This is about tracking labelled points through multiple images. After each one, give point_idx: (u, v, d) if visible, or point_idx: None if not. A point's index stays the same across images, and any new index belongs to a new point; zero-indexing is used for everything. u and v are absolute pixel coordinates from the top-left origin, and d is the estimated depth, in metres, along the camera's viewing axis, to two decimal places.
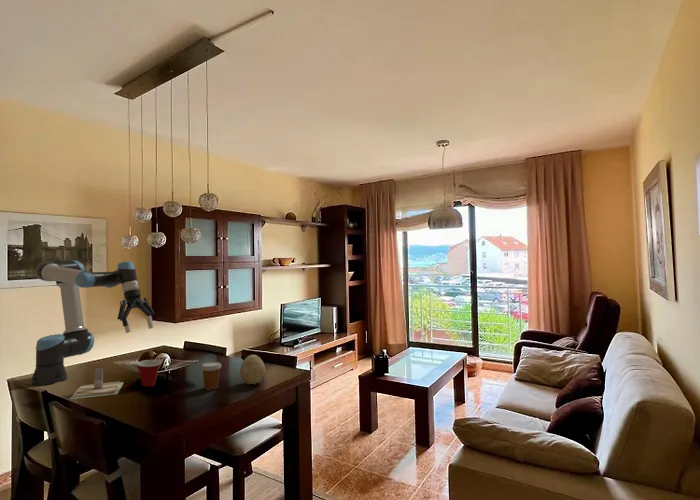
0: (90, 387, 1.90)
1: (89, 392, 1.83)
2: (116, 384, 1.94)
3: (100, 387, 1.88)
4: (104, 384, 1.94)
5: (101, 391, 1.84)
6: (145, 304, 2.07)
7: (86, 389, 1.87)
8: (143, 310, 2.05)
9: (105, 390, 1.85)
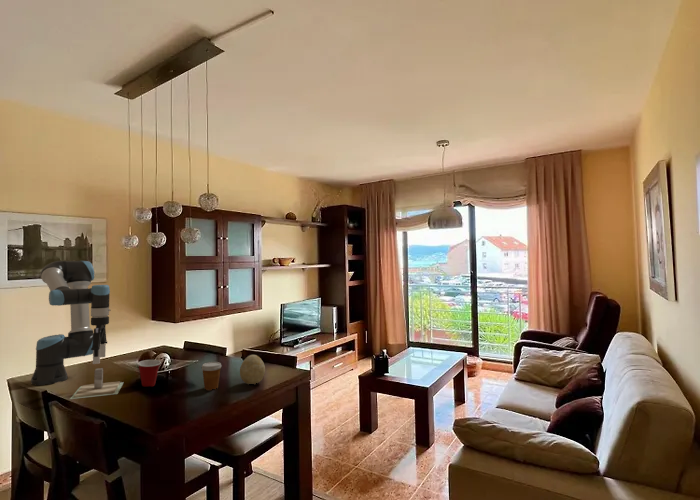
0: (90, 387, 1.90)
1: (89, 392, 1.83)
2: (116, 384, 1.94)
3: (100, 387, 1.88)
4: (104, 384, 1.94)
5: (101, 391, 1.84)
6: None
7: (86, 389, 1.87)
8: (101, 338, 1.94)
9: (105, 390, 1.85)
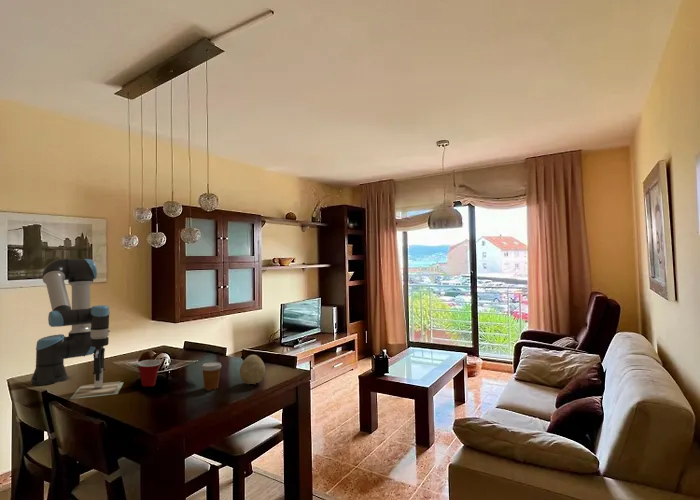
0: (90, 387, 1.90)
1: (89, 392, 1.83)
2: (116, 384, 1.94)
3: (100, 387, 1.88)
4: (104, 384, 1.94)
5: (101, 391, 1.84)
6: None
7: (86, 389, 1.87)
8: None
9: (105, 390, 1.85)
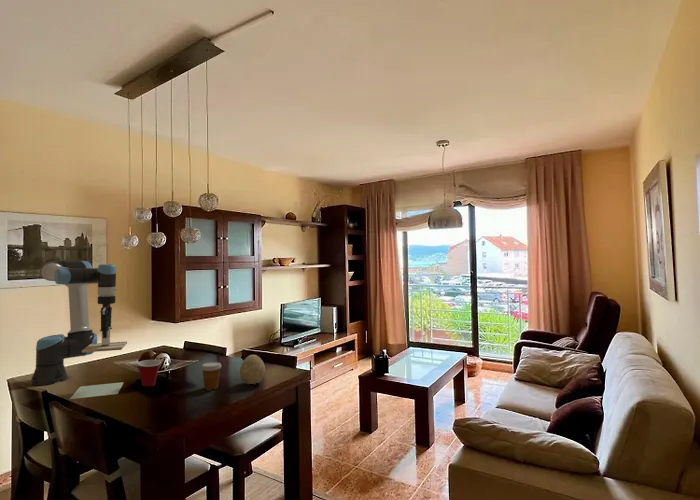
0: (97, 345, 1.92)
1: (96, 348, 1.84)
2: (123, 343, 1.96)
3: (107, 344, 1.89)
4: (111, 343, 1.96)
5: (108, 347, 1.85)
6: None
7: (93, 346, 1.89)
8: None
9: (112, 347, 1.87)
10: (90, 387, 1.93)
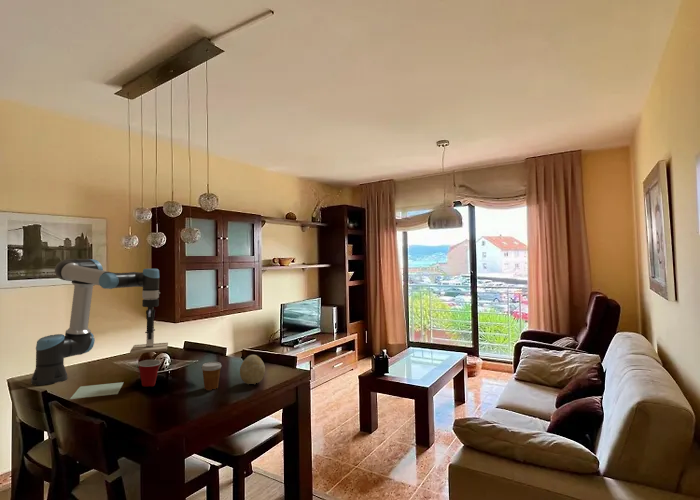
0: (141, 346, 1.99)
1: (143, 349, 1.92)
2: (165, 344, 2.03)
3: (152, 346, 1.97)
4: (154, 344, 2.03)
5: (154, 348, 1.93)
6: None
7: (138, 347, 1.96)
8: None
9: (157, 348, 1.94)
10: (90, 387, 1.93)
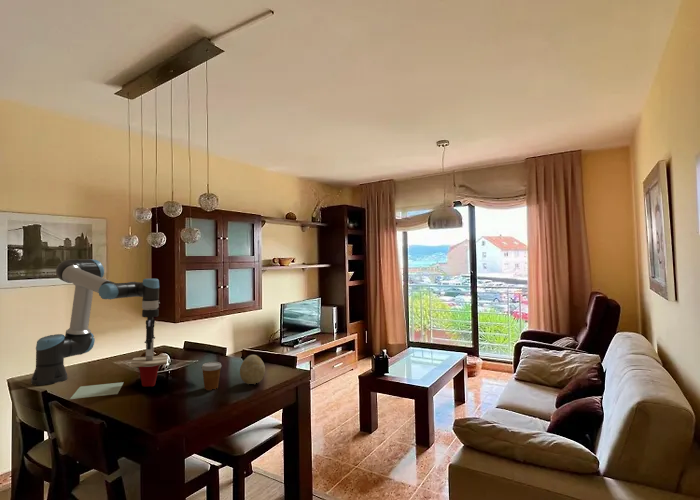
0: (141, 359, 1.99)
1: (142, 363, 1.91)
2: (165, 357, 2.03)
3: (151, 359, 1.97)
4: (154, 357, 2.03)
5: (153, 362, 1.93)
6: None
7: (138, 360, 1.96)
8: None
9: (157, 362, 1.94)
10: (90, 387, 1.93)
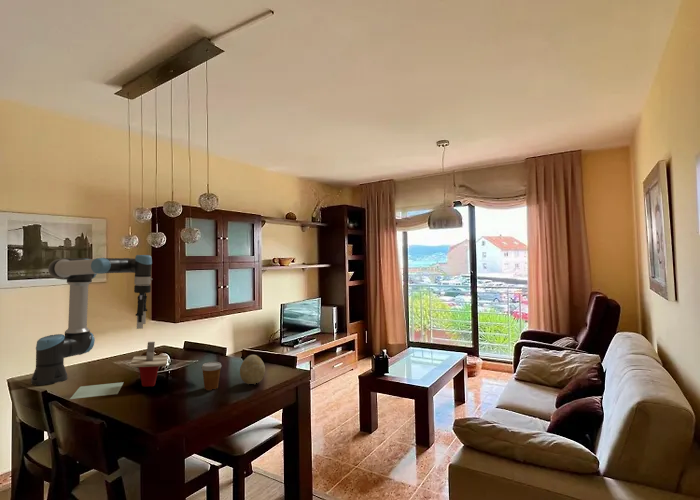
0: (141, 358, 1.99)
1: (142, 363, 1.91)
2: (165, 358, 2.03)
3: (151, 359, 1.97)
4: (154, 357, 2.03)
5: (153, 363, 1.93)
6: None
7: (138, 360, 1.96)
8: None
9: (157, 362, 1.94)
10: (90, 387, 1.93)
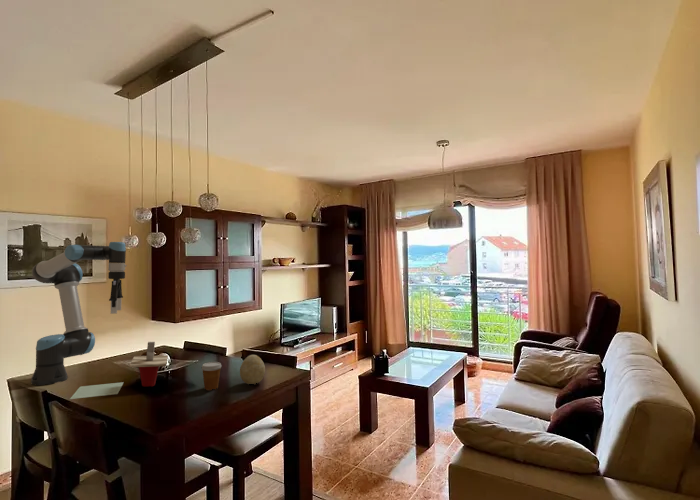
0: (141, 358, 1.99)
1: (142, 363, 1.91)
2: (165, 358, 2.03)
3: (152, 359, 1.97)
4: (154, 357, 2.03)
5: (153, 363, 1.93)
6: None
7: (138, 360, 1.96)
8: (117, 292, 2.07)
9: (157, 362, 1.94)
10: (90, 387, 1.93)
